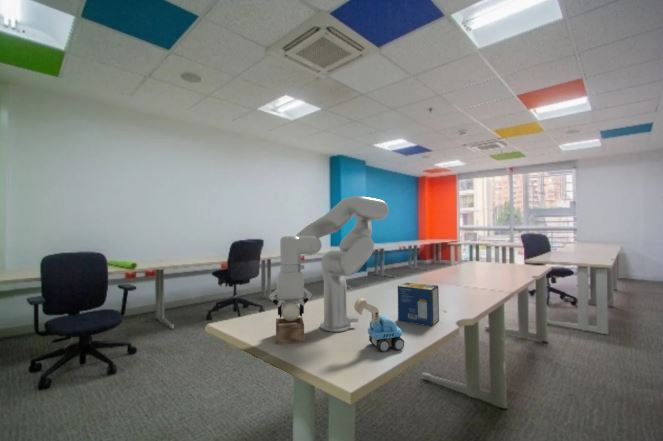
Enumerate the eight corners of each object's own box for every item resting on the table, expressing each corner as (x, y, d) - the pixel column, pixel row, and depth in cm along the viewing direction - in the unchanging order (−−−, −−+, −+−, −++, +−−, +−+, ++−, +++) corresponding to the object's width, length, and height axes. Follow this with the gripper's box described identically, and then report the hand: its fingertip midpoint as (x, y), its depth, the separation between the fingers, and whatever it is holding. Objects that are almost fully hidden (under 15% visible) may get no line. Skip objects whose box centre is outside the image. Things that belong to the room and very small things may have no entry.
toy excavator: (351, 346, 107) (350, 296, 108) (394, 340, 112) (393, 293, 112) (360, 355, 99) (359, 302, 99) (406, 349, 103) (405, 298, 104)
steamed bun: (300, 317, 119) (300, 300, 119) (299, 323, 112) (299, 304, 112) (283, 317, 119) (283, 300, 119) (280, 323, 112) (280, 305, 112)
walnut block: (301, 333, 121) (301, 317, 121) (304, 342, 111) (304, 324, 111) (276, 335, 119) (276, 318, 119) (276, 344, 109) (276, 326, 109)
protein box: (406, 315, 145) (406, 282, 146) (439, 320, 136) (438, 285, 137) (397, 320, 137) (396, 285, 137) (432, 326, 128) (431, 289, 128)
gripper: (312, 266, 121) (312, 312, 121) (267, 268, 118) (267, 314, 118) (314, 269, 114) (315, 317, 113) (266, 270, 111) (267, 320, 110)
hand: (290, 315), depth 116 cm, fingers open, 7 cm apart
